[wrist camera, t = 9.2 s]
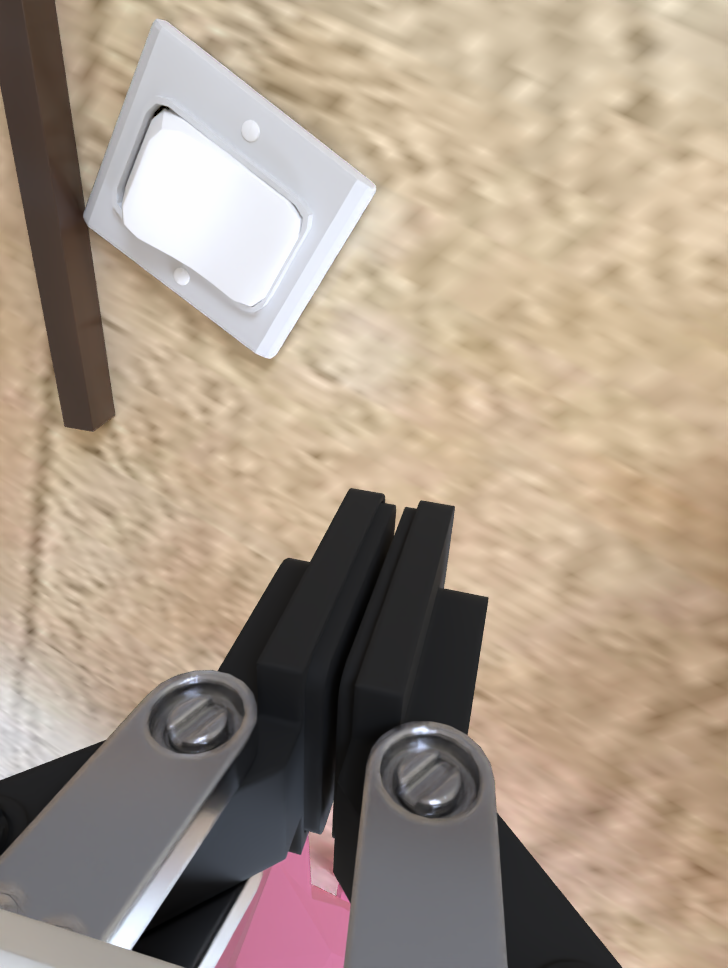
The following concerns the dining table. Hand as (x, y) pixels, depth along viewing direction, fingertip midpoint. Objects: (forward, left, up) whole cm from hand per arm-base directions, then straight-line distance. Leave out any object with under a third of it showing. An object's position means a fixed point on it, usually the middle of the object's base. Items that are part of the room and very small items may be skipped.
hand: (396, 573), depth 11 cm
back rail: (+24, 0, -27) cm, 36 cm away
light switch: (+15, -1, -27) cm, 31 cm away
